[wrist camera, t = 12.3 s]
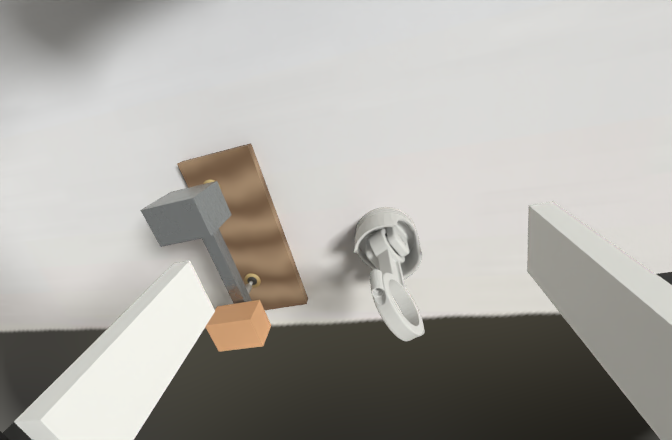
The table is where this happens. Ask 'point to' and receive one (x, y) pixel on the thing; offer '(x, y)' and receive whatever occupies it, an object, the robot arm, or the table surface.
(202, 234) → the grey piece
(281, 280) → the hole plate
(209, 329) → the block
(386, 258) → the engine component
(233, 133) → the table surface
